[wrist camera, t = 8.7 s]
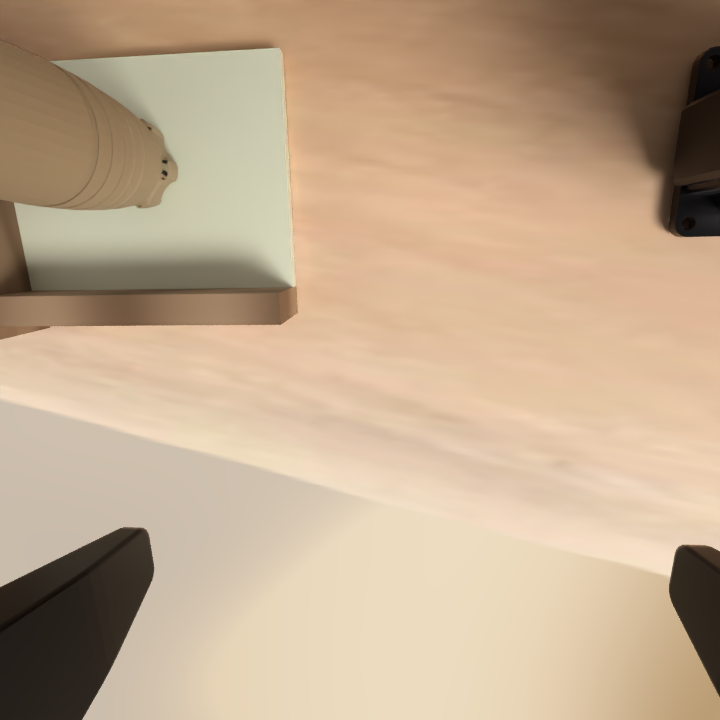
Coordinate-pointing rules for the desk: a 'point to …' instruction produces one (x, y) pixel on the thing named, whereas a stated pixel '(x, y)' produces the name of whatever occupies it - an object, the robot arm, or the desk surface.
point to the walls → (123, 299)
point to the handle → (73, 141)
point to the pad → (183, 182)
